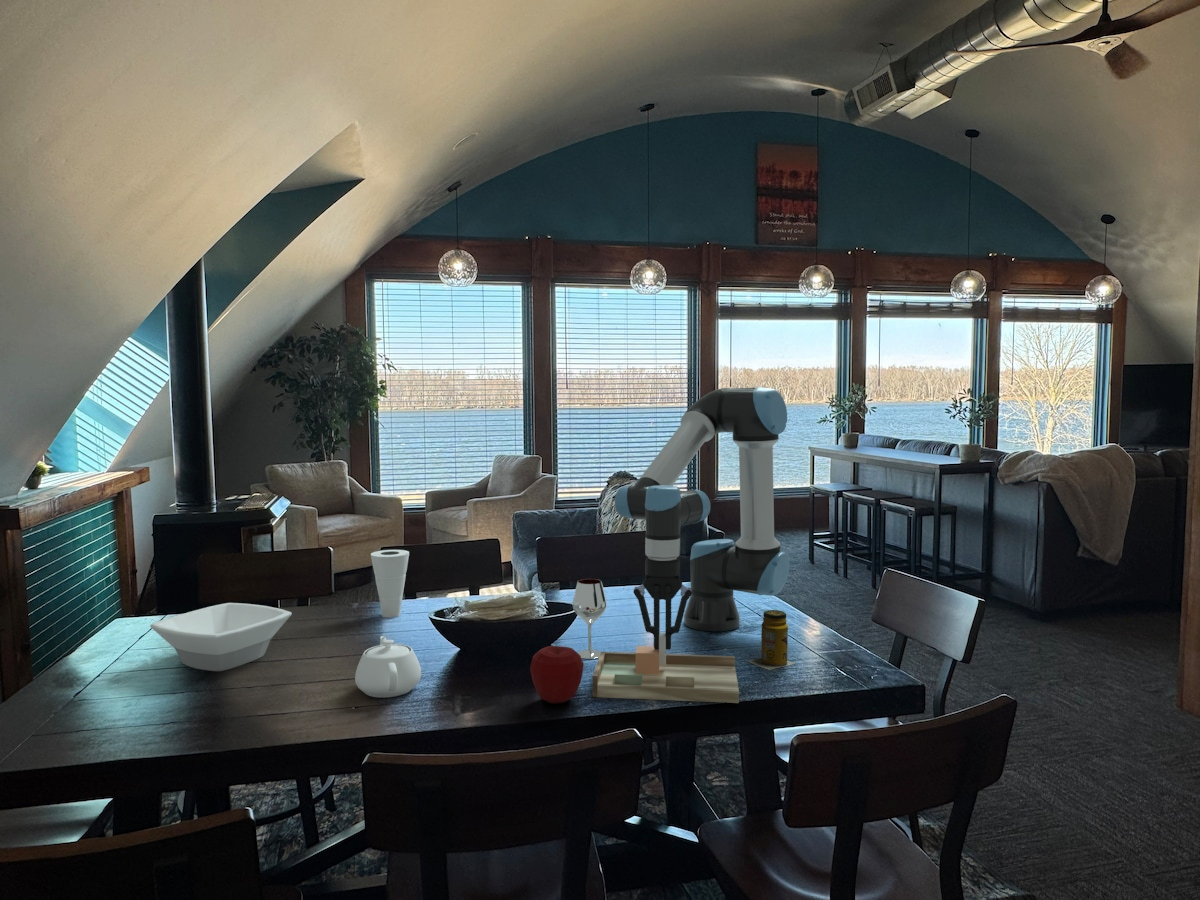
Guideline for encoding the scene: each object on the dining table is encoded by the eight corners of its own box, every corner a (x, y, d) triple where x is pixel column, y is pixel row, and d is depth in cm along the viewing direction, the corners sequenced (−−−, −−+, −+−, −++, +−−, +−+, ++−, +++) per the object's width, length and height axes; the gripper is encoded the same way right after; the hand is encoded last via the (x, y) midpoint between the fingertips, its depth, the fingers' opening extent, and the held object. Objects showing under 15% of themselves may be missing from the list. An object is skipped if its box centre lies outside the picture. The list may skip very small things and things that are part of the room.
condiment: (795, 664, 187) (796, 613, 186) (769, 670, 182) (770, 619, 181) (772, 655, 193) (773, 606, 192) (746, 662, 188) (747, 612, 187)
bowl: (302, 651, 196) (301, 610, 195) (214, 684, 173) (213, 638, 173) (232, 639, 206) (230, 600, 206) (140, 669, 184) (138, 625, 183)
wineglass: (611, 651, 196) (611, 579, 194) (600, 662, 188) (600, 586, 187) (579, 648, 198) (579, 576, 197) (567, 658, 191) (567, 584, 189)
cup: (404, 620, 223) (403, 556, 222) (367, 620, 223) (365, 556, 222) (414, 610, 234) (413, 549, 233) (378, 610, 234) (376, 549, 233)
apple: (540, 714, 157) (539, 656, 156) (523, 696, 166) (522, 641, 166) (591, 706, 161) (591, 649, 160) (572, 688, 171) (572, 634, 170)
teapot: (428, 702, 163) (428, 651, 162) (359, 712, 158) (358, 658, 157) (413, 668, 183) (412, 622, 183) (351, 676, 179) (350, 629, 178)
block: (636, 665, 178) (636, 645, 177) (659, 666, 177) (659, 646, 177) (635, 673, 173) (635, 653, 172) (658, 674, 172) (658, 653, 172)
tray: (601, 671, 182) (601, 651, 181) (734, 676, 178) (734, 656, 178) (592, 697, 166) (592, 675, 166) (738, 703, 162) (739, 681, 162)
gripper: (692, 554, 176) (692, 659, 178) (633, 553, 178) (633, 657, 179) (693, 561, 169) (692, 670, 170) (631, 559, 170) (631, 668, 172)
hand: (662, 663), depth 175 cm, fingers closed
